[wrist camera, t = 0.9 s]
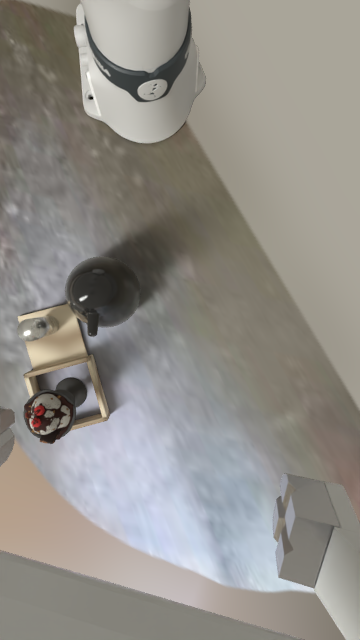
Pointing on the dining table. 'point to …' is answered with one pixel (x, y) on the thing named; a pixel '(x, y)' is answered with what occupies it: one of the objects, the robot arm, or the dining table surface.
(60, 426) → the sundae
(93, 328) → the pump dispenser
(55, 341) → the wooden frame tray
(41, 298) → the dining table surface
